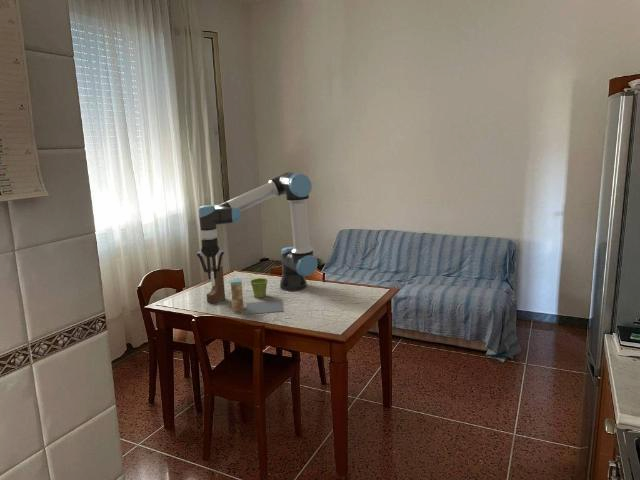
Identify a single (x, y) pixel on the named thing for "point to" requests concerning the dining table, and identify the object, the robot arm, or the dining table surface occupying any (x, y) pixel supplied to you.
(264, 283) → the plant pot
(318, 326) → the dining table surface
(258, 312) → the mat
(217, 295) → the brown boot
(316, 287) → the dining table surface
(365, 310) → the dining table surface
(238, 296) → the tan jar with lid
